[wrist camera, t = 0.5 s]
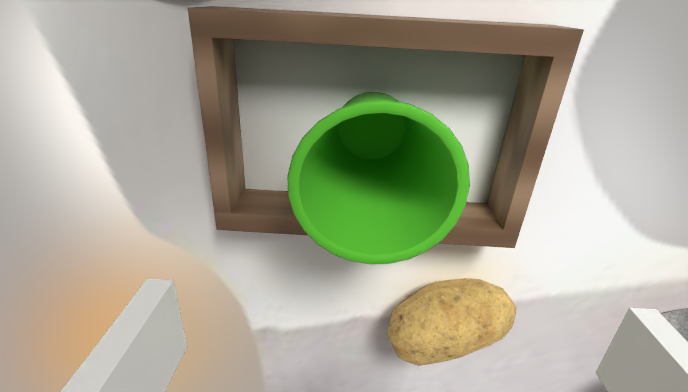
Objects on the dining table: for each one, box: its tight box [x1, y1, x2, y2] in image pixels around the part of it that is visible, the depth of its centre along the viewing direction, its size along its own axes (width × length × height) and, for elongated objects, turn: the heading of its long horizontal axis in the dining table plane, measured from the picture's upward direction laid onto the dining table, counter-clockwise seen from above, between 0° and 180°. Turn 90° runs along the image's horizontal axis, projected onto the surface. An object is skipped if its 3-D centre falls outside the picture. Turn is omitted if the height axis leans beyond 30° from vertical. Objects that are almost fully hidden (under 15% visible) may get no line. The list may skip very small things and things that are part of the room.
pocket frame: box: [188, 6, 584, 248], centre depth 27 cm, size 15×22×4 cm
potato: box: [387, 278, 516, 366], centre depth 33 cm, size 7×11×6 cm, turn 109°
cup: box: [288, 92, 470, 264], centre depth 24 cm, size 9×9×11 cm
